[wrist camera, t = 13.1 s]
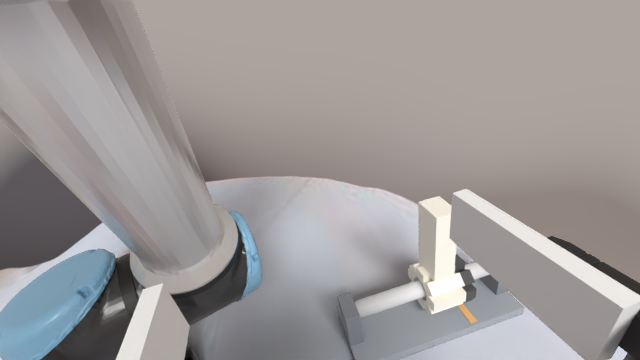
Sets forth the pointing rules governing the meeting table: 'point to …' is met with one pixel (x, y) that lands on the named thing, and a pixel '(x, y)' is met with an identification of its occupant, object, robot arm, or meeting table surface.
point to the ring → (465, 279)
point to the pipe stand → (420, 318)
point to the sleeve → (437, 258)
